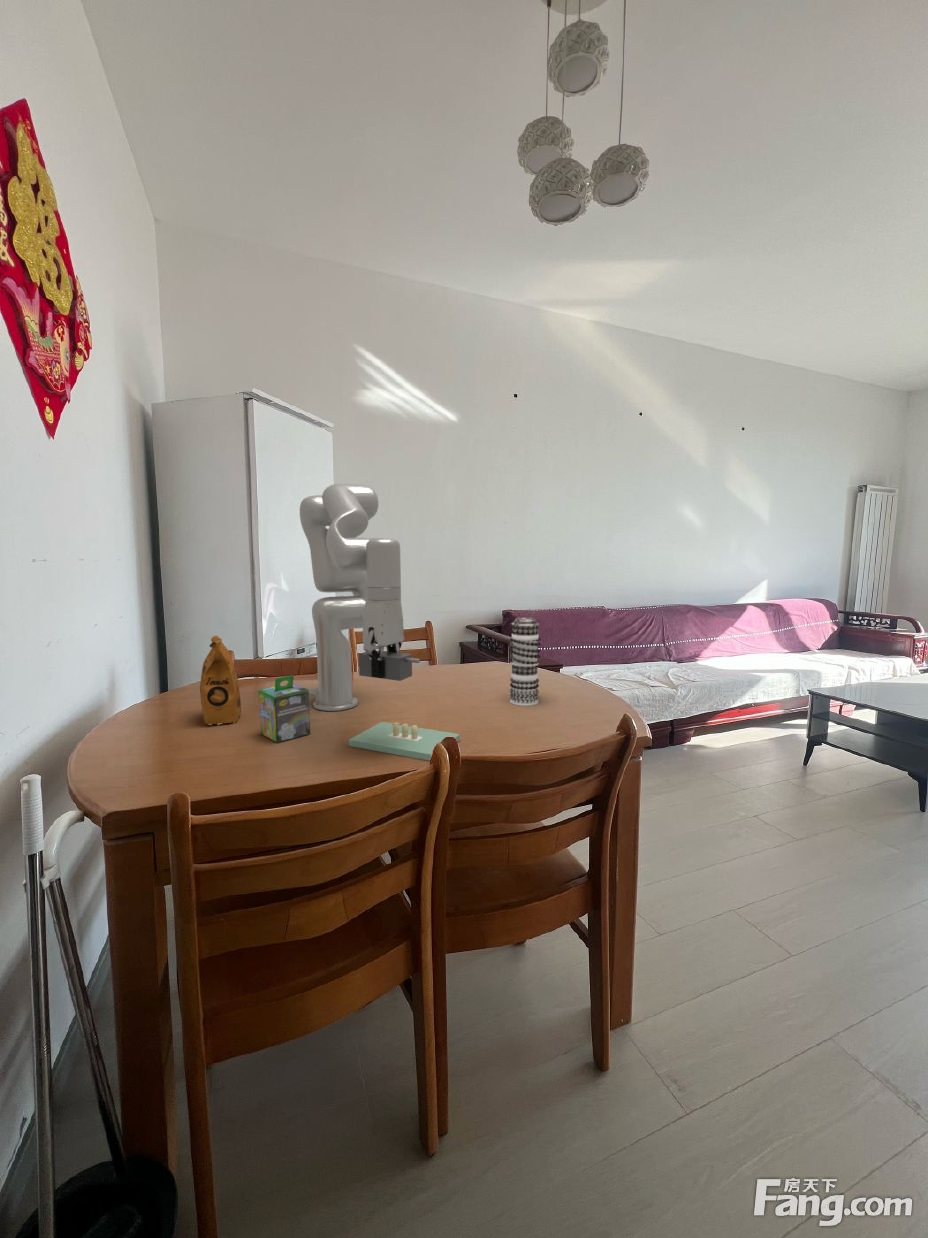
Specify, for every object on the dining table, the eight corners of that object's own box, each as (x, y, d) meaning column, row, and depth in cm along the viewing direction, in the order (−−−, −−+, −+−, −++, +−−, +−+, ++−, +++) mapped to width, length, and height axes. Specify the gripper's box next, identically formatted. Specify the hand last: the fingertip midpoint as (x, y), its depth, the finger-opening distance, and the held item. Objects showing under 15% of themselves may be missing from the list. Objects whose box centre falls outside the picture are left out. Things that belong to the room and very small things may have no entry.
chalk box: (294, 725, 140) (291, 669, 138) (311, 734, 133) (309, 675, 131) (259, 734, 134) (256, 675, 132) (276, 744, 127) (273, 682, 125)
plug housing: (359, 675, 123) (358, 653, 122) (372, 670, 127) (371, 650, 127) (413, 682, 117) (413, 660, 116) (425, 677, 121) (425, 655, 120)
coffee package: (198, 728, 138) (192, 643, 135) (203, 714, 149) (198, 635, 146) (240, 724, 141) (235, 641, 138) (242, 710, 153) (238, 633, 150)
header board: (348, 745, 126) (348, 727, 125) (382, 727, 138) (381, 710, 138) (432, 761, 117) (432, 741, 116) (459, 740, 129) (459, 722, 129)
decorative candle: (541, 706, 156) (543, 620, 153) (509, 706, 157) (510, 620, 153) (537, 697, 166) (539, 616, 162) (507, 697, 166) (508, 616, 162)
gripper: (391, 591, 129) (392, 665, 132) (346, 597, 114) (348, 681, 117) (418, 592, 126) (419, 668, 129) (375, 599, 111) (377, 685, 114)
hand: (385, 673), depth 123 cm, fingers closed on plug housing, 5 cm apart
